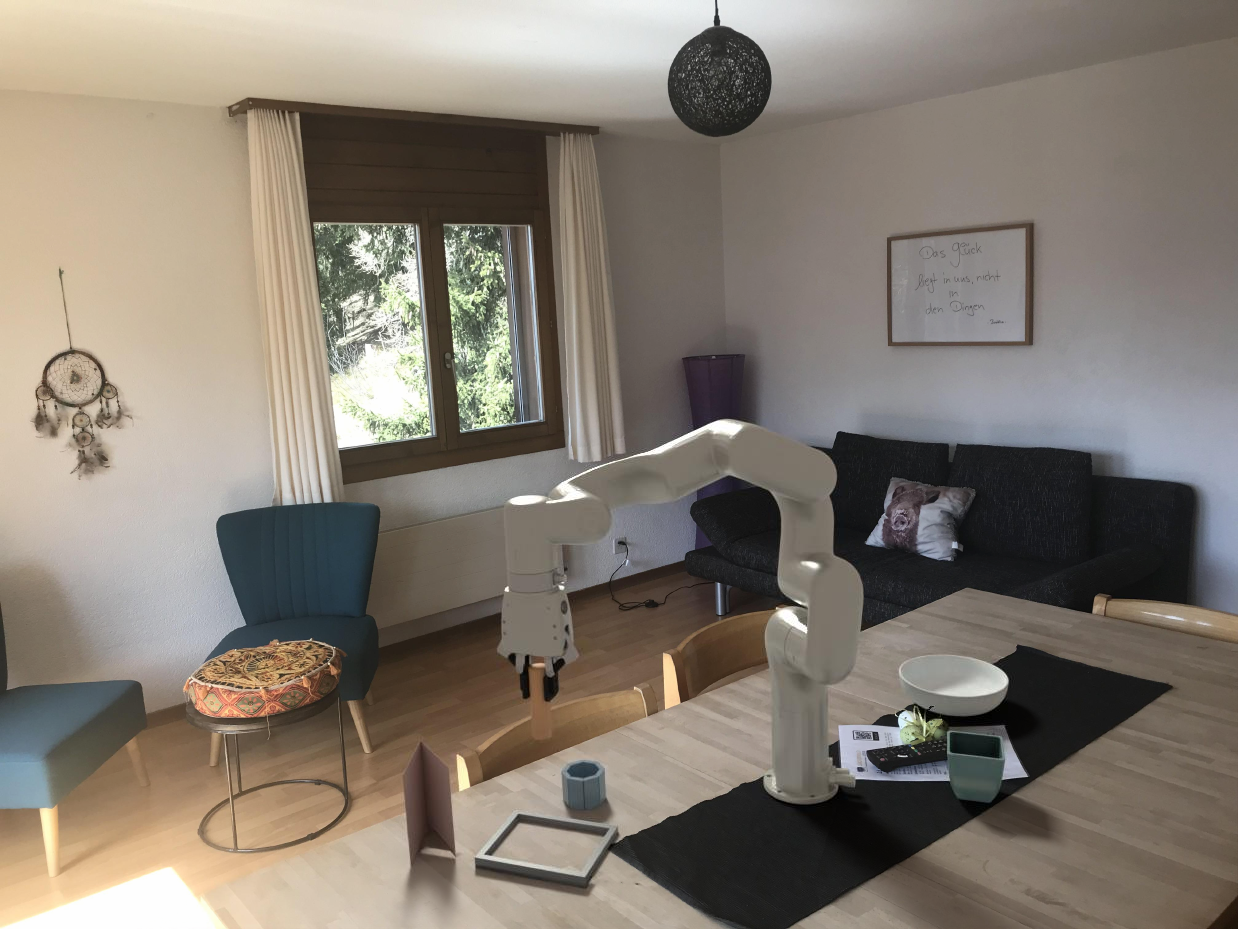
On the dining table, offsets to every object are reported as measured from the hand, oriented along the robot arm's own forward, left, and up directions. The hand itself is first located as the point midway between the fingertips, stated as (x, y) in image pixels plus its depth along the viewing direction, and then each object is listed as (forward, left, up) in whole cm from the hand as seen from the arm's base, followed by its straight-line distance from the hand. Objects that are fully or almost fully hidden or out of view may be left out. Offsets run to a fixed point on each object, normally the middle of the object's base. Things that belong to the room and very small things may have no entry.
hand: (539, 695), depth 143 cm
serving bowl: (-58, -70, -26) cm, 94 cm away
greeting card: (+18, +3, -26) cm, 32 cm away
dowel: (0, 0, -6) cm, 6 cm away
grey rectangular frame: (0, 0, -25) cm, 25 cm away
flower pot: (-62, -35, -26) cm, 76 cm away
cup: (0, -15, -25) cm, 29 cm away
